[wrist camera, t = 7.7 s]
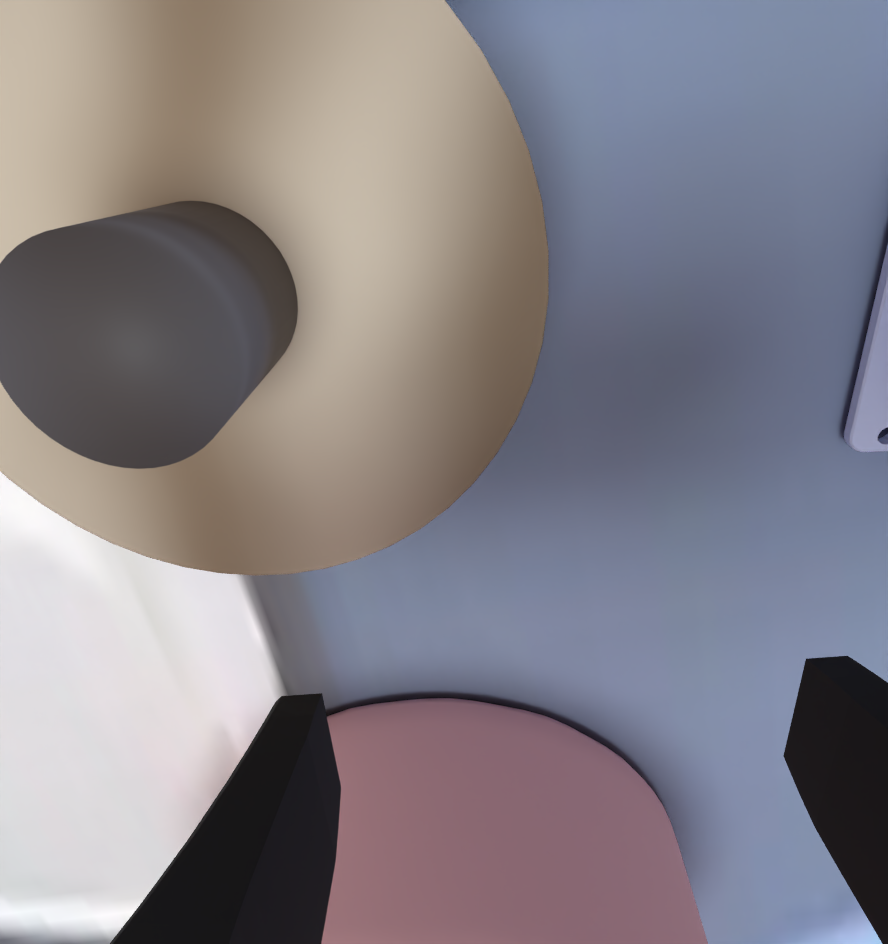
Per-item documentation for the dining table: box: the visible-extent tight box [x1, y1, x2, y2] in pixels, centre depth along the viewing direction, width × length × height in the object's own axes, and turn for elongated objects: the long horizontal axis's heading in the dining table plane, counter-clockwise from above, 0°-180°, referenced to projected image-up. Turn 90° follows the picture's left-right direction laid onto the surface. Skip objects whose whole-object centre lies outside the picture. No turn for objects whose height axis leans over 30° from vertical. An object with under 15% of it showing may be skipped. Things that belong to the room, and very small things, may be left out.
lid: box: [0, 0, 548, 575], centre depth 10 cm, size 12×12×4 cm
